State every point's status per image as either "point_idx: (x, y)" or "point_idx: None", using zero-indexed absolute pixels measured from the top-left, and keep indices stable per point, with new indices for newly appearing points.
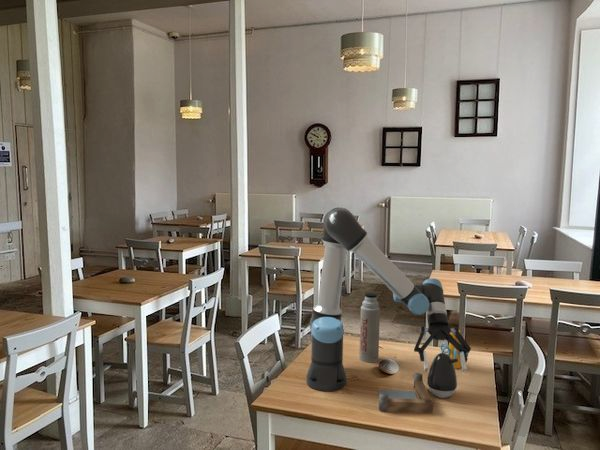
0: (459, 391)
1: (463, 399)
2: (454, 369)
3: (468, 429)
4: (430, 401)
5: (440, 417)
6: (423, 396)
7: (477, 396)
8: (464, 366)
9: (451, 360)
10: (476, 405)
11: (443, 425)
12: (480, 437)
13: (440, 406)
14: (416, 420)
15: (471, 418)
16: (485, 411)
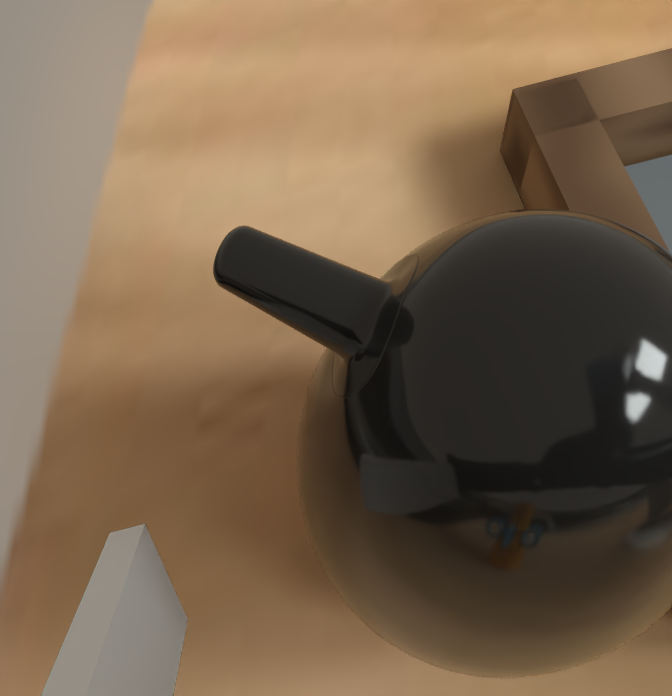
0: (284, 641)
1: (262, 456)
2: (311, 386)
3: (272, 54)
4: (538, 107)
5: (441, 120)
6: (615, 167)
7: None
8: (127, 556)
9: (354, 270)
10: (169, 376)
11: (417, 44)
12: (218, 8)
13: None
14: (590, 39)
15: (238, 174)
16: (121, 299)
